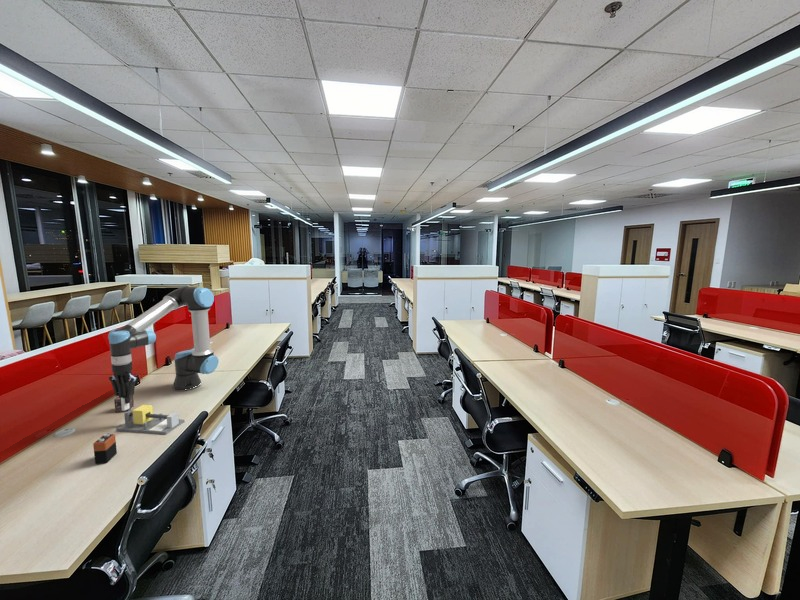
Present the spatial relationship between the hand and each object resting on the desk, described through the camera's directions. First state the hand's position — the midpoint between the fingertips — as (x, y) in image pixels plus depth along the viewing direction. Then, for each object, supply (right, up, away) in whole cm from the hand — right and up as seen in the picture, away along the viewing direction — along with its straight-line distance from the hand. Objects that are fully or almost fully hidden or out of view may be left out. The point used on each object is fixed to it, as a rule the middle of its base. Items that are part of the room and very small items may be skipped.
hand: (125, 409), depth 161 cm
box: (-14, -6, +16) cm, 22 cm away
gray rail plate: (+13, -8, 0) cm, 15 cm away
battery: (+14, -12, -26) cm, 32 cm away
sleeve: (+9, -6, 0) cm, 11 cm away
